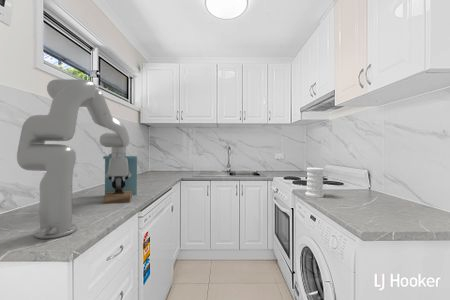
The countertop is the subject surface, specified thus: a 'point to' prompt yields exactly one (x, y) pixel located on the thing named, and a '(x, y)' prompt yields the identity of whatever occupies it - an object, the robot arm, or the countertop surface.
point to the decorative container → (315, 182)
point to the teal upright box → (131, 181)
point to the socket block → (117, 197)
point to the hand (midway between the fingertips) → (118, 187)
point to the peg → (118, 184)
